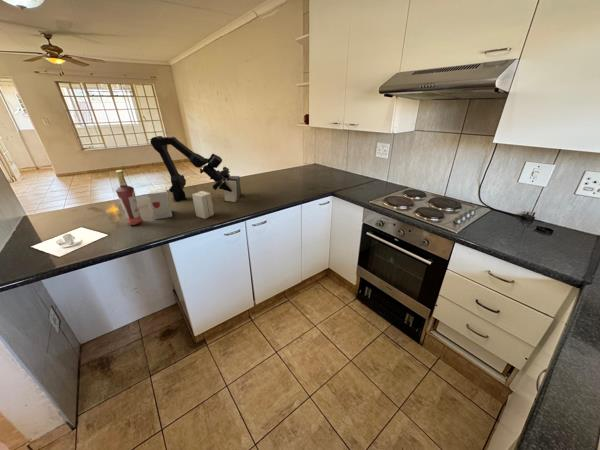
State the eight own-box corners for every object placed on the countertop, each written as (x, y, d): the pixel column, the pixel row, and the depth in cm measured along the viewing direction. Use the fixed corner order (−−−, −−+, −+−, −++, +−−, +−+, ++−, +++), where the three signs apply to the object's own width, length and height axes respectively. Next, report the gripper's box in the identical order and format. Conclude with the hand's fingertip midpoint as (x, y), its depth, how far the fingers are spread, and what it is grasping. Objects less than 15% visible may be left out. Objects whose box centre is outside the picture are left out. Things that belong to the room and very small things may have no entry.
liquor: (141, 225, 127) (125, 172, 114) (125, 227, 125) (106, 173, 112) (145, 219, 133) (130, 168, 120) (130, 221, 131) (112, 169, 118)
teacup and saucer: (53, 245, 108) (49, 237, 107) (73, 237, 115) (70, 229, 113) (66, 249, 106) (62, 241, 104) (86, 241, 112) (82, 233, 111)
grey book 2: (238, 197, 165) (236, 178, 159) (228, 197, 165) (226, 178, 159) (239, 196, 168) (238, 177, 162) (229, 195, 168) (227, 177, 162)
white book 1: (205, 218, 135) (201, 196, 129) (196, 216, 138) (191, 194, 132) (209, 216, 138) (205, 195, 132) (200, 214, 141) (196, 192, 135)
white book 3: (235, 202, 158) (234, 182, 152) (224, 200, 158) (223, 181, 153) (236, 200, 161) (236, 181, 155) (226, 199, 161) (225, 179, 155)
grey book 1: (240, 195, 168) (238, 177, 162) (230, 195, 169) (227, 177, 163) (241, 194, 171) (239, 176, 165) (231, 194, 171) (229, 175, 165)
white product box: (154, 220, 133) (147, 193, 126) (154, 213, 140) (147, 188, 133) (172, 216, 137) (166, 191, 130) (172, 211, 144) (166, 186, 137)
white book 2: (210, 216, 138) (206, 194, 132) (200, 213, 141) (197, 192, 135) (213, 214, 141) (210, 193, 135) (205, 212, 143) (201, 190, 137)
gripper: (214, 167, 140) (236, 186, 145) (225, 160, 157) (243, 177, 162) (203, 181, 144) (224, 198, 149) (214, 172, 161) (233, 188, 166)
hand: (232, 190), depth 156 cm, fingers closed on white book 3, 3 cm apart
